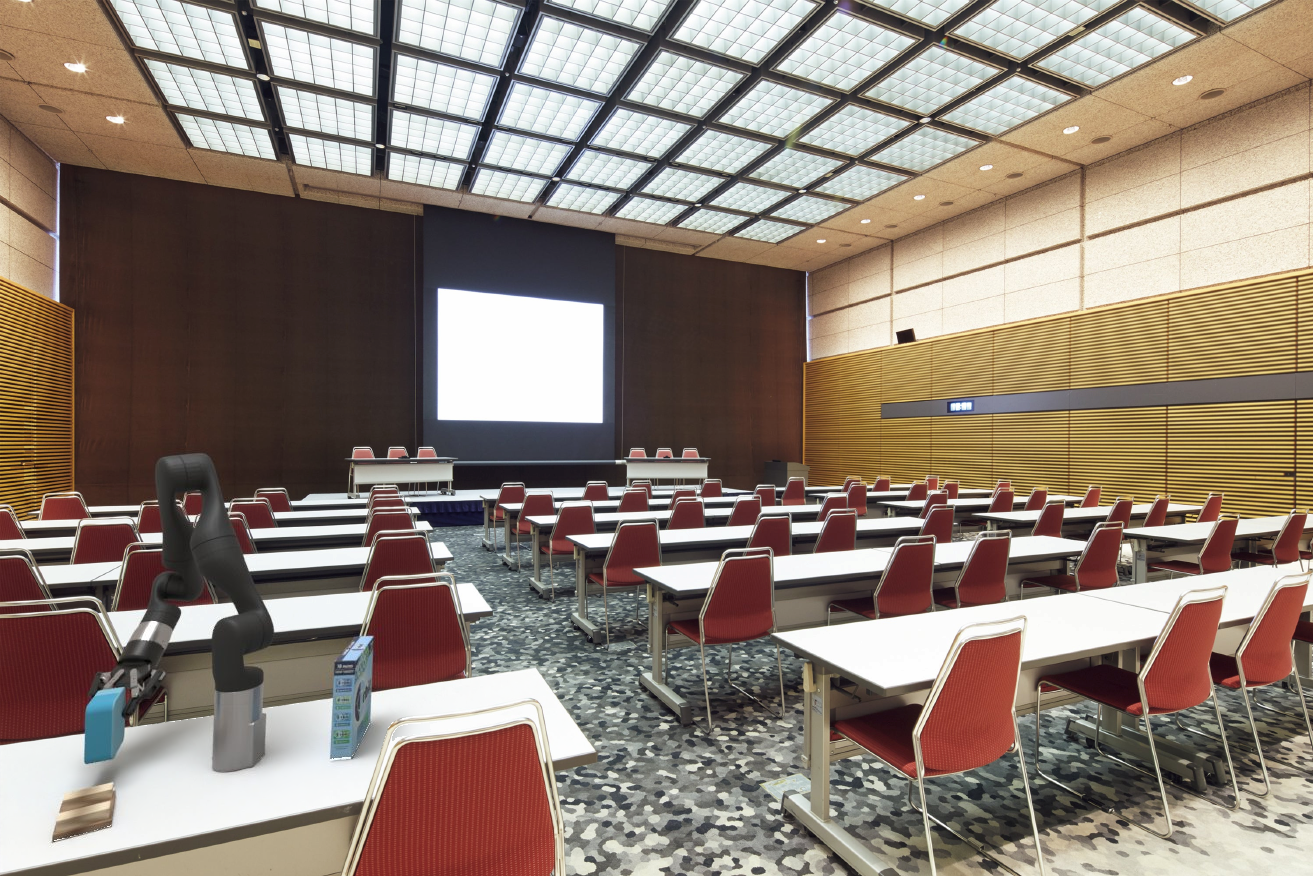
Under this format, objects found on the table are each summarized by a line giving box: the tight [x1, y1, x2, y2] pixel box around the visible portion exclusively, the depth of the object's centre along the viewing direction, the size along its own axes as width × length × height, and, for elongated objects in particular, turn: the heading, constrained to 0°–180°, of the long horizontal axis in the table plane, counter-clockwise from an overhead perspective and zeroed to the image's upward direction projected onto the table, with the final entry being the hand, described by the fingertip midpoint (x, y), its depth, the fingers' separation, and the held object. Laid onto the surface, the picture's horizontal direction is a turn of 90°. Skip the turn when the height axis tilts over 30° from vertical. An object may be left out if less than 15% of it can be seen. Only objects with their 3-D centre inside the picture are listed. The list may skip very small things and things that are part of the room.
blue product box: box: [329, 635, 375, 760], centre depth 153 cm, size 20×5×23 cm, turn 13°
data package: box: [83, 687, 127, 765], centre depth 133 cm, size 12×4×12 cm, turn 31°
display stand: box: [51, 781, 117, 842], centre depth 120 cm, size 8×13×3 cm, turn 38°
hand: (109, 717), depth 136 cm, fingers closed on data package, 5 cm apart
